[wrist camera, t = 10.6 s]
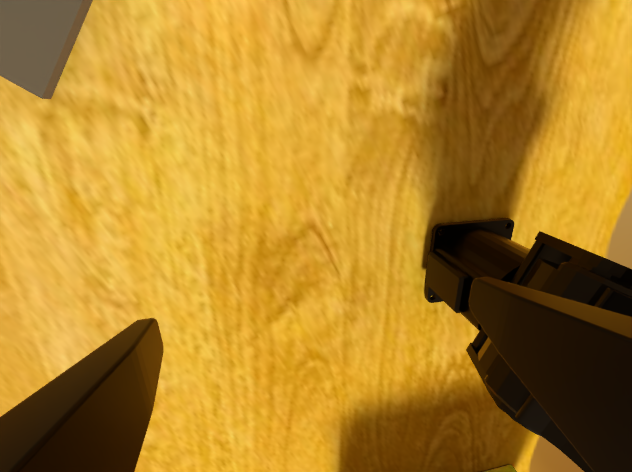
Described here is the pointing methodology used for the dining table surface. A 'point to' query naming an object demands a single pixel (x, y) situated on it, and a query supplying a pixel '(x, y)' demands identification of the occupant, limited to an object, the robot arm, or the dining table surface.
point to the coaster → (38, 41)
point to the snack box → (503, 469)
